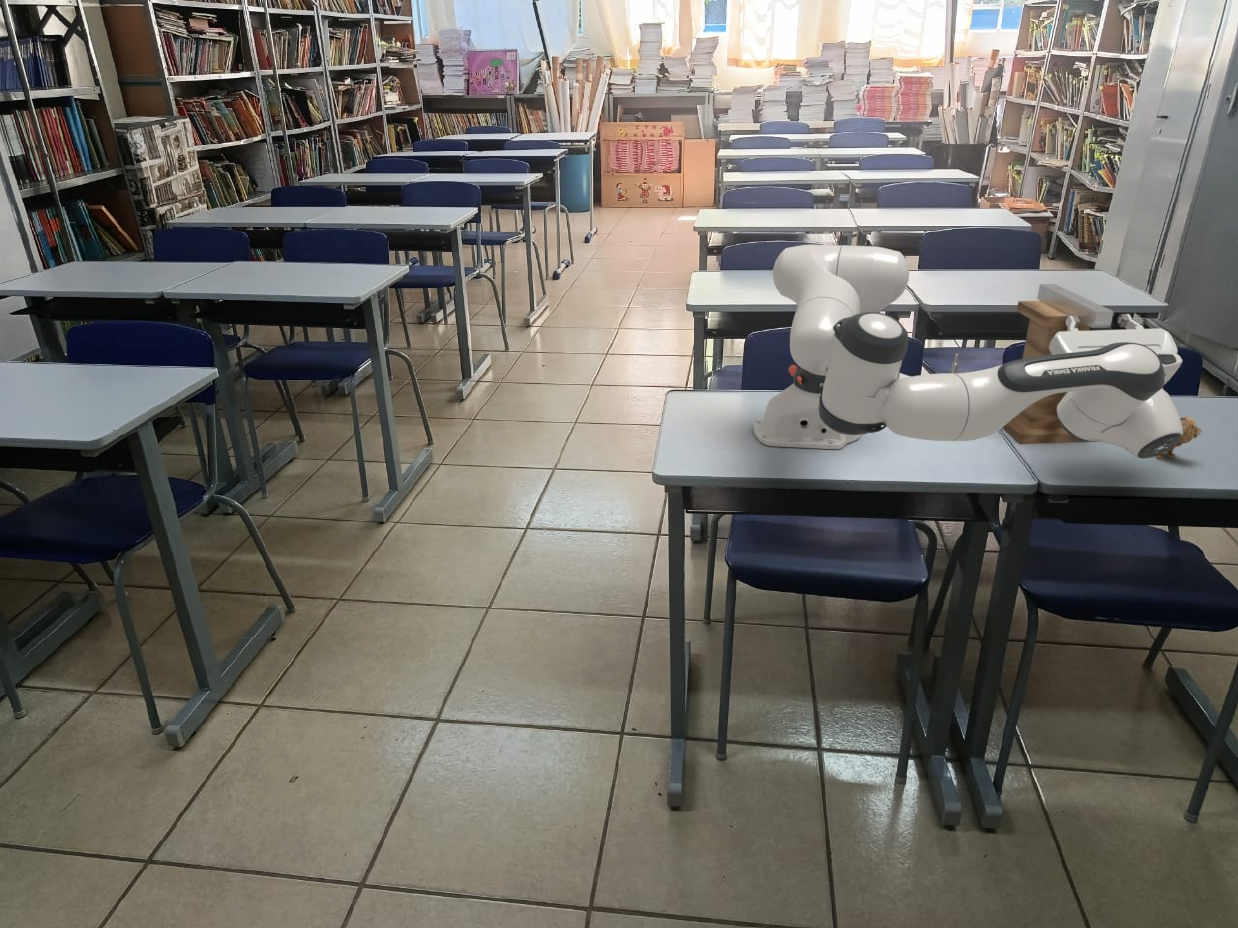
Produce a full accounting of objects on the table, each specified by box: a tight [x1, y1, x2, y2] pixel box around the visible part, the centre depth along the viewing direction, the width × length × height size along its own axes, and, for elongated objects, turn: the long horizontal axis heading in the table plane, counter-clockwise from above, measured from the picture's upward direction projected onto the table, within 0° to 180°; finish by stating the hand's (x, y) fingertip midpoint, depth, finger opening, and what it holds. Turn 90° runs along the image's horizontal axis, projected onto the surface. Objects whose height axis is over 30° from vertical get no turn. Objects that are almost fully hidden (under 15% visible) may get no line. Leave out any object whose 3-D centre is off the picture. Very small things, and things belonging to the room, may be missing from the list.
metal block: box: [1036, 283, 1115, 329], centre depth 159 cm, size 3×22×3 cm, turn 0°
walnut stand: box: [1001, 300, 1091, 445], centre depth 169 cm, size 14×14×26 cm
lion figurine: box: [1156, 416, 1203, 460], centre depth 161 cm, size 15×5×9 cm, turn 10°
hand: (1096, 317), depth 152 cm, fingers open, 8 cm apart
